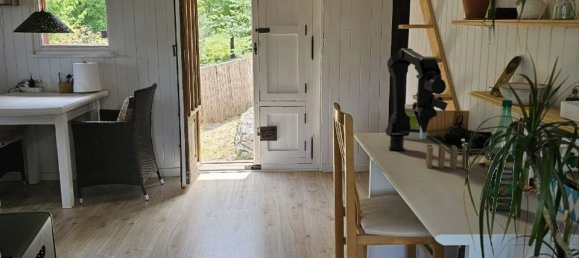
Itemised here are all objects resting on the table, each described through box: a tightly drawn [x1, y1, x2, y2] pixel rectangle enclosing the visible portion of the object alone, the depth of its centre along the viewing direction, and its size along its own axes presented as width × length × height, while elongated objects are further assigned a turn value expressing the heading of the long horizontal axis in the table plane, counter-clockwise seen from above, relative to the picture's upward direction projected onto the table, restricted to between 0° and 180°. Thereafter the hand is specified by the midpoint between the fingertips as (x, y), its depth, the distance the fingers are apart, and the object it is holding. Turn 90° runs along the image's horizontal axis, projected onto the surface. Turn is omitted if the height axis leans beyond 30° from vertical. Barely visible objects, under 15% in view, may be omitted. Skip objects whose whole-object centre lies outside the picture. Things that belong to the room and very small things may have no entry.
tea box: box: [404, 103, 422, 141], centre depth 260 cm, size 15×10×15 cm
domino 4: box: [449, 145, 459, 170], centre depth 207 cm, size 5×2×8 cm, turn 174°
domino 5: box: [461, 145, 471, 171], centre depth 206 cm, size 5×2×8 cm, turn 174°
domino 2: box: [425, 144, 434, 169], centre depth 208 cm, size 5×2×8 cm, turn 174°
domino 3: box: [437, 144, 446, 170], centre depth 207 cm, size 5×2×8 cm, turn 174°
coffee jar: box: [479, 146, 514, 212], centre depth 162 cm, size 10×8×19 cm
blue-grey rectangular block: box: [420, 125, 428, 140], centre depth 211 cm, size 5×2×8 cm, turn 176°
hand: (422, 131), depth 211 cm, fingers closed on blue-grey rectangular block, 5 cm apart
